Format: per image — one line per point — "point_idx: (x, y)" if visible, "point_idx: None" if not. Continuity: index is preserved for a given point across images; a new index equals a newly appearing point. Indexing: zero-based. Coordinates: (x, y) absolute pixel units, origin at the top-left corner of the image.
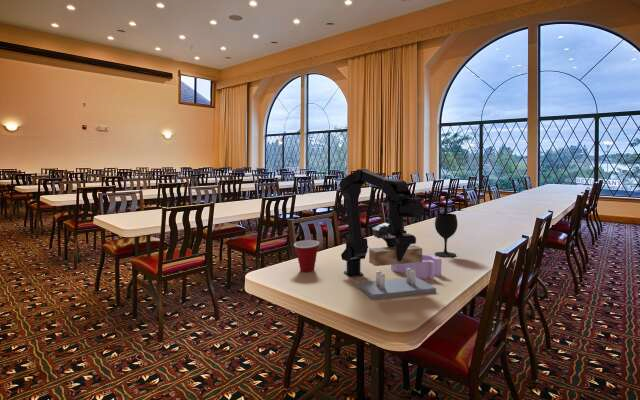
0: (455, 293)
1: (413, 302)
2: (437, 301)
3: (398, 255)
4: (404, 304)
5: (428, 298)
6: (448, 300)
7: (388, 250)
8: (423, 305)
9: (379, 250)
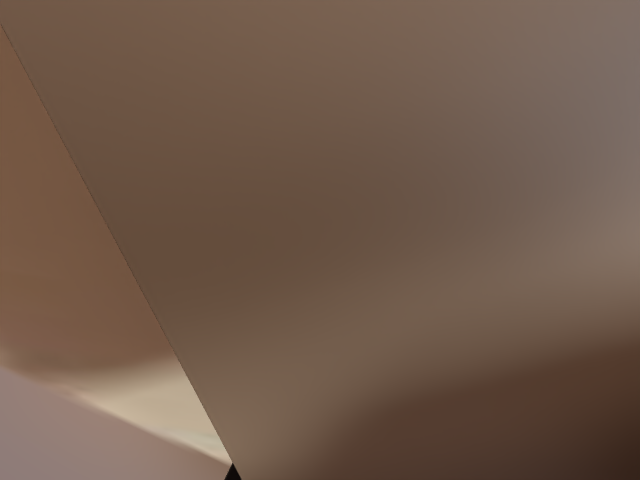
0: None
1: (81, 271)
2: (123, 384)
3: (231, 471)
4: (28, 212)
5: (166, 355)
6: (146, 427)
7: (260, 417)
8: (39, 313)
9: (263, 110)
